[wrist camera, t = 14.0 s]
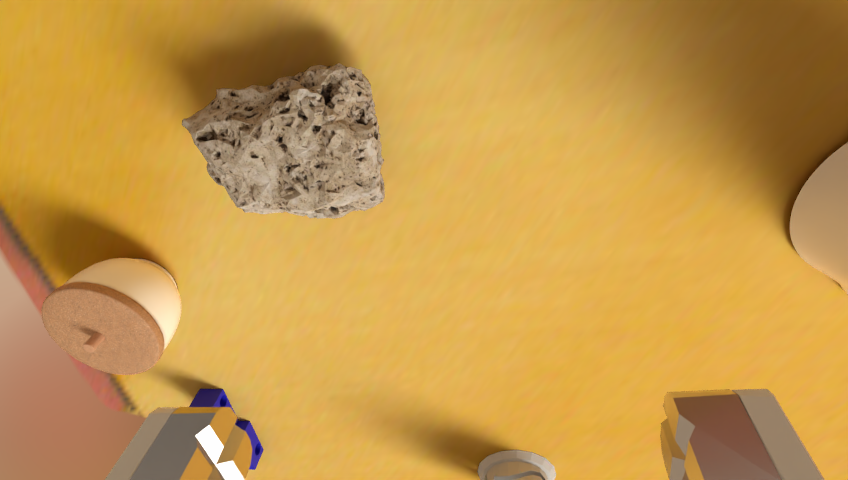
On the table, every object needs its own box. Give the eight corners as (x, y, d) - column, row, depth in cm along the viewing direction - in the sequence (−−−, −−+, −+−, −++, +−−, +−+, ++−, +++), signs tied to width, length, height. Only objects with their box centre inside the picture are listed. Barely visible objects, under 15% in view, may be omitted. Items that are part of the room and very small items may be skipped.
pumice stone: (239, 187, 44) (194, 236, 37) (205, 45, 37) (144, 75, 31) (395, 194, 43) (378, 246, 36) (389, 48, 36) (366, 80, 29)
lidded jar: (89, 292, 53) (21, 357, 45) (105, 220, 48) (30, 281, 40) (186, 335, 55) (136, 404, 48) (211, 271, 50) (160, 338, 42)
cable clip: (263, 448, 66) (245, 492, 61) (232, 447, 67) (212, 490, 62) (235, 387, 60) (212, 431, 55) (200, 387, 61) (174, 430, 56)
